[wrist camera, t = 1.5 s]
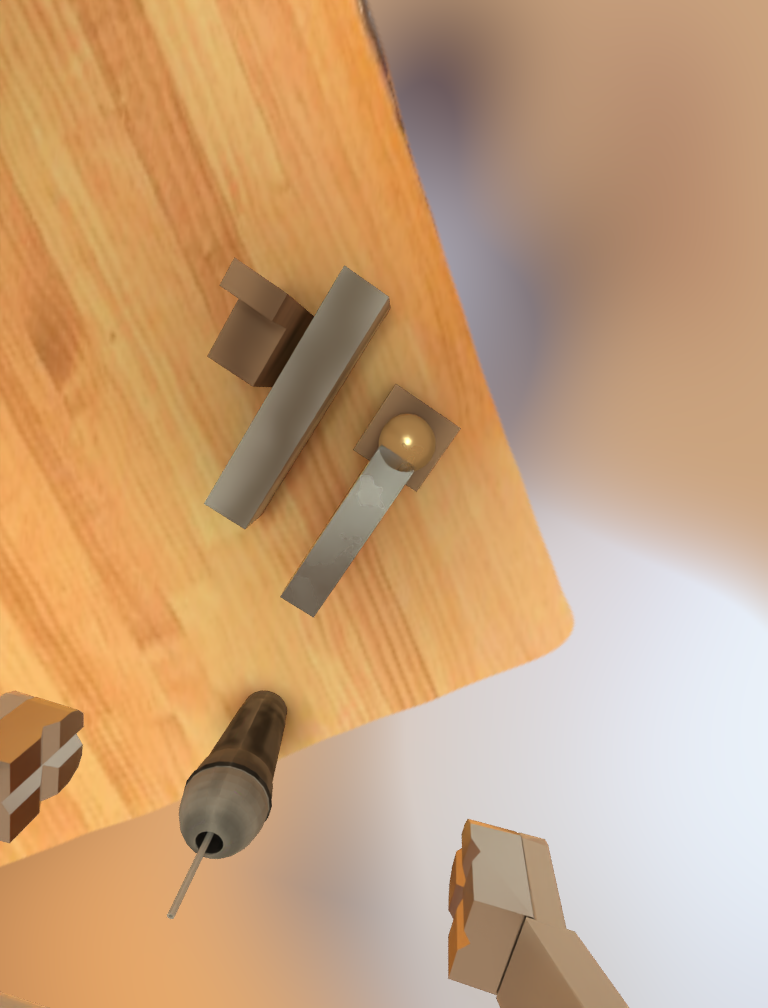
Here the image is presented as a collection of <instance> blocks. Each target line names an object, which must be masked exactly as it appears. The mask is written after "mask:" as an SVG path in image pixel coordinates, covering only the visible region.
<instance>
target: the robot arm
mask: <svg viewBox="0 0 768 1008" xmlns="http://www.w3.org/2000/svg"><path fill="white" fill-rule="evenodd" d="M82 728H83V713H82V712H81V711H79V710H77V709H73V708H70V707H67V706H64V705H61V704H57V703H54V702H51V701H48V700H45V699H41V698H38V697H33V696H30V695H27V694H24V693H20V692H17V691H12V692H8V693H5V694H4V695H2V696H1V697H0V841H3V842H7V843H10V842H11V841H12V840H13V839H14V838H15V837H16V836H17V835H18V834H19V833H20V832H21V831H22V830H23V829H24V828H25V827H26V826H27V825H28V824H29V823H30V822H31V821H32V820H33V819H34V818H35V817H36V816H37V815H38V814H39V812H40V806H41V801H43V800H45V799H48V798H50V797H52V796H54V795H57V794H58V793H59V792H60V791H61V790H62V789H63V788H64V787H65V786H66V785H67V784H68V782H69V781H70V779H71V778H72V776H73V774H74V773H75V771H76V770H77V768H78V766H79V762H80V759H81V756H82V746H83V745H82V743H81V741H80V739H79V738H78V736H77V734H76V733H77V732H78V731H80V730H81V729H82ZM448 910H449V912H450V913H451V915H452V917H453V923H452V926H451V929H450V932H449V936H448V978H449V979H451V980H454V981H457V982H460V983H463V984H466V985H469V986H472V987H474V988H477V989H480V990H483V991H486V992H489V993H492V994H495V995H497V998H496V999H497V1001H498V1003H499V1006H500V1008H629V1007H628V1005H627V1004H626V1003H625V1001H624V1000H623V998H622V997H621V996H620V994H619V993H618V991H617V990H616V989H615V987H614V986H613V984H612V983H611V981H610V980H609V979H608V977H607V976H606V974H605V973H604V972H603V970H602V969H601V967H600V966H599V965H598V963H597V962H596V960H595V959H594V958H593V956H592V955H591V954H590V952H589V951H588V950H587V948H586V947H585V945H584V944H583V942H582V941H581V940H580V938H579V937H578V936H577V934H576V933H575V932H574V931H571V930H568V929H566V925H565V920H564V916H563V911H562V906H561V902H560V897H559V893H558V888H557V883H556V879H555V874H554V870H553V865H552V861H551V856H550V852H549V847H548V844H547V842H546V841H545V839H541V838H538V837H534V836H530V835H526V834H523V833H517V832H515V831H511V830H508V829H504V828H500V827H496V826H493V825H489V824H485V823H482V822H478V821H474V820H470V819H467V821H466V823H465V825H464V829H463V831H462V848H461V849H460V850H458V851H457V852H456V855H455V858H454V862H453V865H452V871H451V877H450V884H449V909H448ZM0 1008H48V1007H45V1006H42V1005H39V1004H36V1003H33V1002H30V1001H27V1000H24V999H21V998H18V997H15V996H12V995H9V994H6V993H3V992H0Z"/></svg>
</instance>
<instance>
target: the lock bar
mask: <svg viewBox="0 0 768 1008" xmlns="http://www.w3.org/2000/svg"><path fill="white" fill-rule="evenodd" d="M435 446H436V442H435V436H434V433H433V431H432V429H431V427H430V426H429V425H428V423H427V422H426V421H425V420H424V419H422V418H421V417H419V416H417V415H415V414H410V413H404V414H399V415H396V416H394V417H392V418H391V419H390V420H389V421H388V422H387V423H386V424H385V426H384V427H383V429H382V431H381V434H380V437H379V447H378V448H377V450H376V451H375V453H374V454H373V456H372V457H371V459H370V460H369V462H368V463H367V465H366V466H365V468H364V469H363V471H362V472H361V474H360V475H359V477H358V478H357V480H356V481H355V483H354V484H353V486H352V487H351V489H350V490H349V492H348V493H347V495H346V496H345V498H344V499H343V501H342V503H341V504H340V506H339V507H338V509H337V510H336V512H335V513H334V515H333V516H332V518H331V519H330V521H329V522H328V524H327V525H326V527H325V528H324V530H323V531H322V533H321V534H320V536H319V537H318V539H317V540H316V542H315V543H314V545H313V546H312V548H311V549H310V551H309V552H308V554H307V555H306V557H305V558H304V560H303V561H302V563H301V565H300V566H299V568H298V569H297V571H296V572H295V574H294V575H293V577H292V578H291V580H290V581H289V583H288V584H287V586H286V588H285V590H284V591H283V593H282V595H281V596H280V597H281V598H283V599H284V600H286V601H288V602H289V603H291V604H292V605H294V606H296V607H297V608H299V609H301V610H302V611H304V612H305V613H307V614H309V615H310V616H312V617H314V616H315V615H316V613H317V612H318V610H319V609H320V607H321V606H322V604H323V603H324V602H325V600H326V599H327V597H328V596H329V594H330V593H331V591H332V590H333V588H334V587H335V586H336V584H337V583H338V581H339V580H340V578H341V577H342V575H343V574H344V572H345V571H346V570H347V568H348V567H349V565H350V564H351V562H352V561H353V559H354V558H355V556H356V555H357V554H358V552H359V551H360V549H361V548H362V546H363V545H364V543H365V542H366V540H367V539H368V538H369V536H370V535H371V533H372V532H373V530H374V529H375V527H376V526H377V524H378V523H379V522H380V520H381V519H382V517H383V516H384V514H385V513H386V511H387V510H388V509H389V507H390V506H391V504H392V503H393V501H394V500H395V498H396V497H397V495H398V494H399V493H400V491H401V490H402V488H403V487H404V485H405V484H406V482H407V481H408V479H409V478H410V477H411V475H412V474H413V472H414V471H417V470H419V469H421V468H423V467H424V466H425V465H426V464H427V463H428V462H429V461H430V460H431V458H432V457H433V454H434V451H435Z"/></svg>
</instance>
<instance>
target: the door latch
mask: <svg viewBox="0 0 768 1008" xmlns="http://www.w3.org/2000/svg"><path fill="white" fill-rule="evenodd" d="M220 286H221V287H223V288H224V289H225V290H227V291H228V292H230V293H231V294H233V295H234V296H236V297H237V298H239V299H238V301H237V303H236V305H235V307H234V308H233V310H232V312H231V314H230V316H229V318H228V319H227V321H226V323H225V325H224V327H223V329H222V330H221V332H220V334H219V336H218V338H217V339H216V341H215V343H214V345H213V347H212V349H211V350H210V352H209V354H208V356H207V357H209V358H210V359H212V360H213V361H215V362H216V363H218V364H219V365H221V366H223V367H224V368H226V369H227V370H229V371H230V372H232V373H233V374H235V375H236V376H238V377H239V378H241V379H242V380H244V381H245V382H247V383H248V384H250V385H251V386H254V387H272V389H271V391H270V393H269V394H268V396H267V398H266V399H265V401H264V403H263V404H262V406H261V408H260V409H259V411H258V413H257V415H256V416H255V418H254V420H253V421H252V423H251V425H250V426H249V428H248V430H247V432H246V433H245V435H244V437H243V438H242V440H241V442H240V443H239V445H238V447H237V449H236V450H235V452H234V454H233V455H232V457H231V459H230V460H229V462H228V464H227V465H226V467H225V469H224V471H223V472H222V474H221V476H220V477H219V479H218V481H217V482H216V484H215V486H214V488H213V489H212V491H211V493H210V494H209V496H208V498H207V499H206V501H205V503H204V504H205V505H207V506H208V507H210V508H212V509H213V510H215V511H216V512H218V513H220V514H221V515H223V516H224V517H226V518H228V519H229V520H231V521H232V522H234V523H236V524H237V525H239V526H240V527H242V528H244V529H246V528H247V527H248V526H249V525H251V524H252V523H253V522H254V521H255V520H256V519H257V518H258V517H259V516H261V515H262V513H263V511H264V510H265V508H266V507H267V505H268V503H269V502H270V500H271V499H272V497H273V495H274V494H275V492H276V491H277V489H278V487H279V486H280V484H281V483H282V481H283V479H284V478H285V476H286V475H287V473H288V471H289V470H290V468H291V467H292V465H293V463H294V462H295V460H296V458H297V457H298V455H299V454H300V452H301V450H302V449H303V447H304V446H305V444H306V442H307V441H308V439H309V438H310V436H311V434H312V433H313V431H314V430H315V428H316V426H317V425H318V423H319V422H320V420H321V418H322V417H323V415H324V414H325V412H326V410H327V409H328V407H329V406H330V404H331V402H332V401H333V399H334V398H335V396H336V394H337V393H338V391H339V389H340V388H341V386H342V385H343V383H344V381H345V380H346V378H347V377H348V375H349V373H350V372H351V370H352V369H353V367H354V365H355V364H356V362H357V361H358V359H359V357H360V356H361V354H362V353H363V351H364V349H365V348H366V346H367V345H368V343H369V341H370V340H371V338H372V337H373V335H374V333H375V332H376V330H377V329H378V327H379V325H380V324H381V322H382V320H383V319H384V317H385V316H386V314H387V312H388V311H389V309H390V301H389V297H388V296H387V295H386V294H384V293H383V292H381V291H380V290H378V289H377V288H376V287H374V286H373V285H371V284H370V283H369V282H367V281H366V280H364V279H363V278H361V277H360V276H359V275H357V274H356V273H354V272H353V271H351V270H350V269H349V268H347V267H346V266H344V267H343V269H342V270H341V272H340V274H339V275H338V277H337V279H336V281H335V282H334V284H333V286H332V287H331V289H330V291H329V292H328V294H327V296H326V297H325V299H324V301H323V303H322V304H321V306H320V308H319V309H318V311H317V313H316V314H315V316H313V315H312V314H310V313H309V312H308V311H307V310H306V309H305V308H303V307H302V306H301V305H300V304H299V303H298V302H296V301H295V300H294V299H293V298H292V297H290V296H289V295H288V294H287V293H285V292H284V291H282V290H281V289H280V288H278V287H277V286H275V285H274V284H272V283H271V282H269V281H268V280H266V279H265V278H264V277H262V276H261V275H259V274H258V273H256V272H255V271H253V270H252V269H251V268H249V267H248V266H246V265H245V264H243V263H242V262H240V261H239V260H237V259H236V258H235V257H234V259H233V261H232V263H231V265H230V267H229V269H228V270H227V272H226V274H225V276H224V278H223V280H222V282H221V284H220ZM404 413H410V414H415V415H417V416H419V417H421V418H422V419H424V420H425V421H426V422H427V423H428V425H429V426H430V427H431V429H432V431H433V433H434V436H435V442H436V446H435V451H434V454H433V457H432V458H431V460H430V461H429V462H428V463H427V464H426V465H425V466H424V467H423V468H421V469H419V470H417V471H414V472H413V474H412V475H411V477H410V478H409V479H408V481H407V482H406V484H405V485H407V486H408V487H410V488H412V489H413V490H415V491H416V492H417V490H418V489H419V488H420V486H421V485H422V483H423V482H424V480H425V479H426V478H427V476H428V475H429V473H430V472H431V470H432V469H433V468H434V466H435V465H436V463H437V462H438V460H439V459H440V457H441V456H442V455H443V453H444V452H445V450H446V449H447V447H448V446H449V445H450V443H451V442H452V440H453V439H454V437H455V436H456V435H457V433H458V432H459V430H460V429H461V428H460V427H458V426H457V425H455V424H454V423H452V422H451V421H449V420H448V419H447V418H445V417H444V416H442V415H441V414H439V413H438V412H436V411H435V410H433V409H432V408H430V407H429V406H428V405H426V404H425V403H423V402H422V401H420V400H419V399H417V398H416V397H414V396H413V395H411V394H410V393H409V392H407V391H406V390H404V389H403V388H401V387H400V386H398V385H397V384H395V386H394V387H393V389H392V391H391V392H390V394H389V395H388V397H387V398H386V400H385V401H384V403H383V404H382V406H381V408H380V409H379V411H378V412H377V414H376V415H375V417H374V418H373V420H372V421H371V423H370V424H369V426H368V428H367V429H366V431H365V432H364V434H363V435H362V437H361V438H360V440H359V441H358V443H357V444H356V446H355V448H354V449H353V450H354V451H356V452H357V453H359V454H360V455H362V456H363V457H365V458H366V459H368V460H370V459H371V457H372V456H373V454H374V453H375V451H376V450H377V448H378V447H379V437H380V434H381V431H382V429H383V427H384V426H385V424H386V423H387V422H388V421H389V420H390V419H391V418H392V417H394V416H396V415H399V414H404Z"/></svg>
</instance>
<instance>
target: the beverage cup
mask: <svg viewBox="0 0 768 1008" xmlns="http://www.w3.org/2000/svg"><path fill="white" fill-rule="evenodd" d="M286 714H287V708H286V705H285V703H284V701H283V700H282V699H281V697H280V696H278V695H276V694H275V693H272V692H269V691H259V692H255V693H253V694H252V695H250V696H249V697H248V699H247V700H246V702H245V703H244V704H243V705H242V707H241V708H240V709H239V711H238V712H237V714H236V715H235V717H234V718H233V720H232V721H231V723H230V724H229V726H228V727H227V729H226V730H225V732H224V733H223V735H222V736H221V738H220V739H219V741H218V742H217V744H216V745H215V747H214V749H213V750H212V752H211V753H210V755H209V756H208V757H207V758H206V759H205V760H204V761H203V762H202V764H201V765H200V766H199V767H198V769H197V770H196V771H194V772H193V773H192V775H191V776H190V777H189V779H188V780H187V782H186V786H185V789H184V793H183V797H182V800H181V804H180V808H179V821H180V830H181V833H182V835H183V837H184V839H185V841H186V843H187V845H188V846H189V847H190V848H191V849H192V850H193V851H194V852H195V853H197V855H196V857H195V859H194V861H193V863H192V865H191V867H190V869H189V871H188V873H187V875H186V877H185V880H184V881H183V884H182V886H181V888H180V890H179V892H178V894H177V896H176V898H175V900H174V902H173V904H172V906H171V908H170V910H169V912H168V914H167V917H168V918H170V919H173V918H174V917H175V915H176V912H177V910H178V908H179V906H180V904H181V902H182V900H183V898H184V895H185V893H186V891H187V889H188V887H189V885H190V883H191V881H192V879H193V877H194V875H195V872H196V870H197V868H198V866H199V864H200V862H201V860H202V858H203V857H206V858H210V859H221V858H225V857H229V856H232V855H234V854H236V853H238V852H239V851H241V850H242V849H244V848H245V847H247V846H248V845H249V844H250V843H251V841H252V840H253V839H254V838H255V837H256V835H257V834H258V833H259V831H260V830H261V828H262V826H263V824H264V822H265V821H266V820H267V818H268V816H269V813H270V810H271V807H272V803H271V799H272V789H273V784H272V781H273V777H274V772H275V768H276V763H277V759H278V754H279V750H280V745H281V741H282V736H283V731H284V727H285V719H286Z"/></svg>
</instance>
